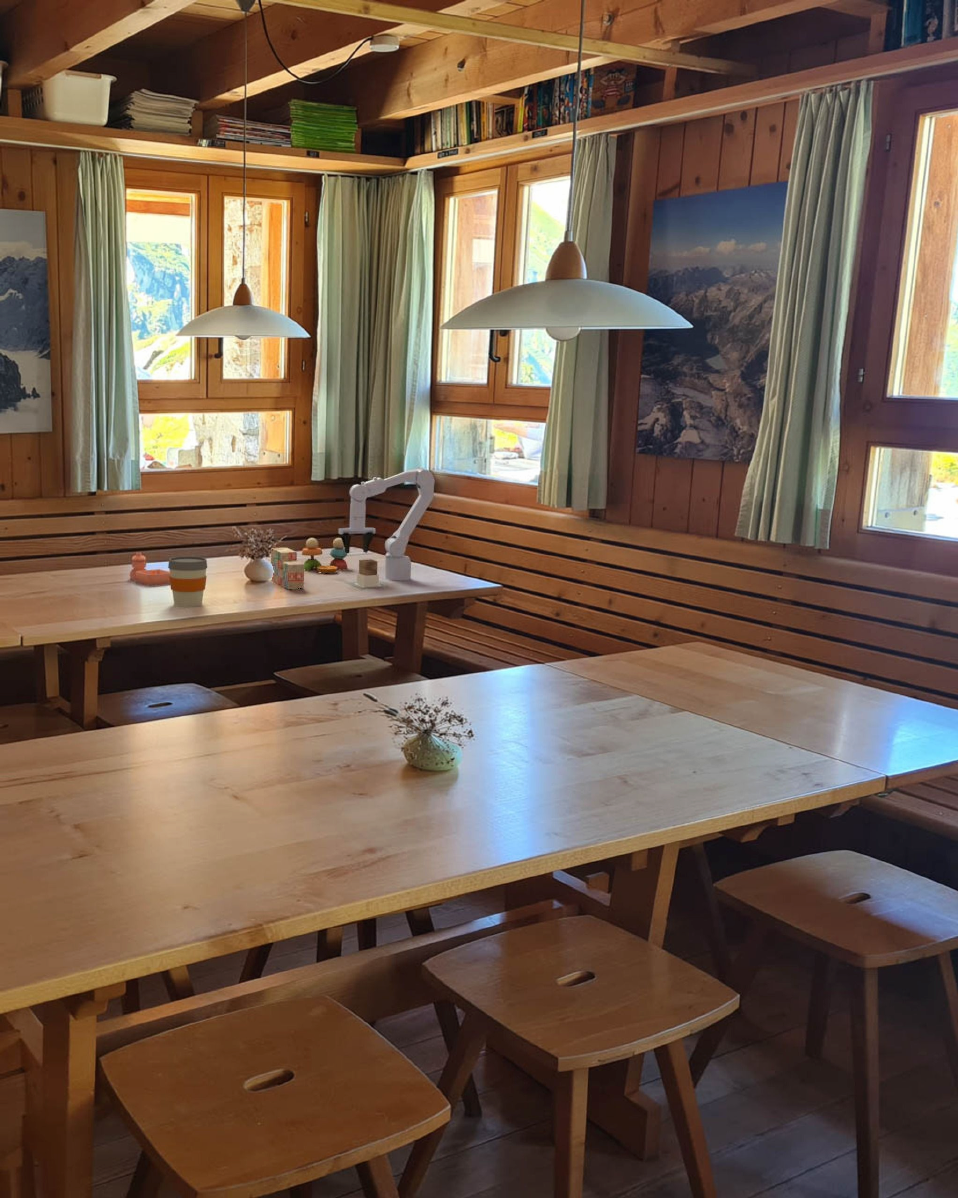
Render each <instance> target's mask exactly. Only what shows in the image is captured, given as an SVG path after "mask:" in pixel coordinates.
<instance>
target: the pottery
mask: <svg viewBox="0 0 958 1198" xmlns="http://www.w3.org/2000/svg"><path fill="white" fill-rule="evenodd" d="M146 559H147V558H146V556H144V555H142V552H136V555H134V556H132V558H131V560H132V562H131V567H132V569H131V570H130V573H129V577H130V580H132V581H135V583H138V584H140V585H144V586H148V587H154V586H155V587H156V586H163V585H164V586H165V585H170V579H169V576H170V570H169V571H168V570H164V569H160V568H156V569H145V568H146V567H147V562H146Z"/></svg>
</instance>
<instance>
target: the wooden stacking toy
mask: <svg viewBox="0 0 958 1198" xmlns="http://www.w3.org/2000/svg"><path fill="white" fill-rule="evenodd" d="M332 546H333V548H332V549H331V550H330V552H329V554H330V556H331V557H332V558H333V559H332V560H331V561H330V563H329V565H322V564H321V562H320V561H319V560H318V559H316V558H314V557H315V556H321V555H323V550H322V548H320V547H319V541H318V540H317V538H314V537H309V538H308V539H307V540H306V542H305V547H304V548H302V551H301V555H302V556H307V557H308V556H309V557H310V558H308V559H307V560H305V561H304V562H303V564H304V569H305V570H304V571H307V570H309V571H311V570H314V569H316V570H317V573H318V572H321V573H334V574H336V573H337V571H338V570H337V569H346V570H348V563H347V562H346V560H345V559H344V558H346V557H347V556H348V553H345V548H344V544H343V541H342V539H341V537H336V538H335V539H333V542H332ZM314 567H315V568H314ZM335 572H336V573H335ZM321 573H320V574H321Z"/></svg>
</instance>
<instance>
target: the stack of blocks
mask: <svg viewBox="0 0 958 1198" xmlns="http://www.w3.org/2000/svg"><path fill="white" fill-rule="evenodd" d="M272 549H273V551H271V550H272ZM297 555H298V552H297V551H295V550H293V549H290V548H288V547H272V548H270V565H271V564H272V566H273V570H274V573H273V577H272V580H273V583H275V582H276V583H275V584H277V585H279V584H280V585H279V586H281V585H282V586H283V587H282V586H281V587H282V588H284V587H285V588H284V589H286V590H287V589H292V590H301V589H300V588H305V587H304V584H305V582H304V581H305V570H304V562H303V563H302V562H301V561H299V560H297ZM272 580H271V581H272ZM298 588H299V589H298Z"/></svg>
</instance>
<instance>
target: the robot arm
mask: <svg viewBox="0 0 958 1198" xmlns="http://www.w3.org/2000/svg"><path fill="white" fill-rule="evenodd" d="M435 481H436V480H435V477H434V475H433V473H432V472H431V471H430V470H429V469H425V468H423V467H416V468H415V469H414V468H413V469H409V470H405V471H403V472H400V473H397V474H395V475H392V476H389V477H387V478H384V479H383V478H381V477H376V476H375V477H373V478H372V479H371V480H367V481H361V482H360V484H359V483H358V484H353V485H352V486H351V487H350V488H349V492H348V493H349V494H348V495H349V496H350V504H349V505H350V506H349V507H350V509H349V527H342V528H338V534H339V538H341V539H342V541H343V544H344V549H345V553H347V554H350V550H351V548H350V547H351V538H352V535H351V534H362V540H363V541H362V542H363V546H362V550H363V553H368V552H369V547H370V545H371V542H372V540H373V539H374V537H375V534H376V528H374V527H366V509H367V508H366V507H367V506H366V500H367V498H370V497H374V496H377V495H379V494H383V493H385V492H386V490H387V488H390V487H393V486H396V485H400V484H403V483H412V484H415V486H416V488H417V492H418V496H417V498H416V499H415V501H414V502H413V504H412V506H411V508H410V509H409V511H408V513H407V514H406V516H405V517H404V519H403V520H402V522H401V524H400V525H399V527H398V529H397V530H396V531H395V532H393V534H392V535H391V536H390V537H389V538H387V539H386V540H385V543H384V549H385V550H386V553H385V561H384V564H385V565H384V576H383V575H382V576H380V578H381V579H384V580H386V581H390V582H391V581H392V582H393V581H406V580H409V581H411V580H412V578H411V577H412V576H411V575H412V562H411V558H410V557H409V556H408V555H405V552H406V550H407V545H408V543H409V540H410V536H411V534H412V533H413V531H414V530H415V528H416V527H417V525H418V523H419V522H420V520H421V519H422V517H423V515H425V512H426V510H427V508H428V507H429V506H430V504H431V502H432V501H433V499H434V497H435V496H434V493H435V492H434V491H435Z"/></svg>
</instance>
